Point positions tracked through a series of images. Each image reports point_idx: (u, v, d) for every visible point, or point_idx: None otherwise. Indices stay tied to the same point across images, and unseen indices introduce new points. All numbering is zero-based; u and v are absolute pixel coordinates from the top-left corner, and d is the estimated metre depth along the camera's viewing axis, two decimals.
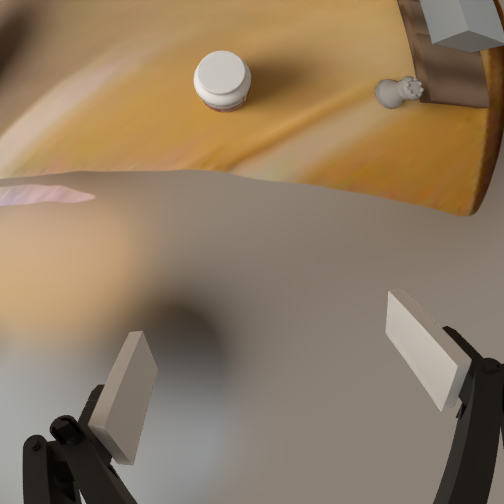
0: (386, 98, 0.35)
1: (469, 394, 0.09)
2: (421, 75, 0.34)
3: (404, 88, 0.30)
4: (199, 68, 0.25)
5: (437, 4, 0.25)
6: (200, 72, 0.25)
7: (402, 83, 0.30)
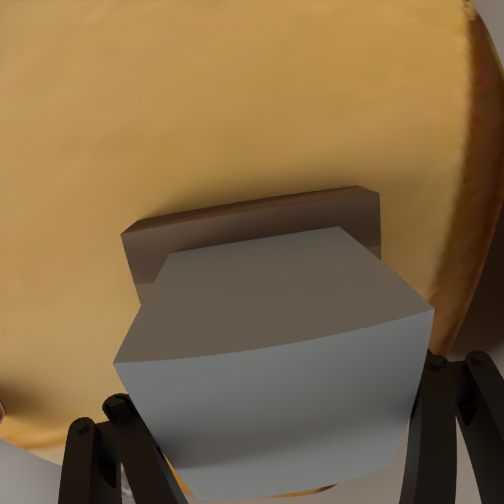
0: None
1: (418, 392, 0.10)
2: None
3: None
4: None
5: None
6: None
7: None
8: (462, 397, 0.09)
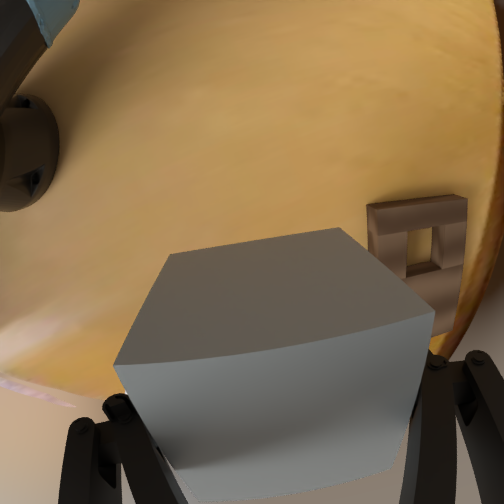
0: None
1: None
2: None
3: None
4: None
5: None
6: None
7: None
8: (462, 397, 0.09)
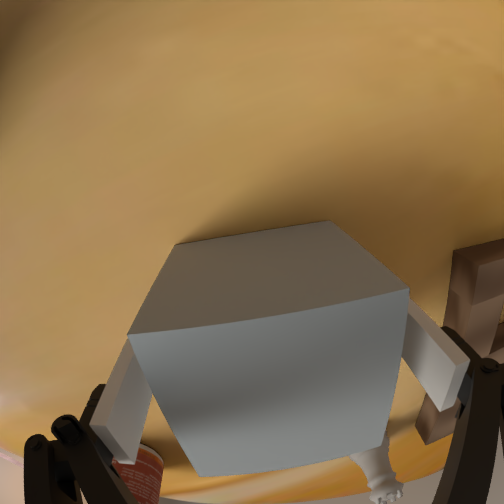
0: (357, 462, 0.23)
1: (468, 394, 0.09)
2: (429, 412, 0.22)
3: (372, 500, 0.18)
4: None
5: None
6: None
7: (372, 496, 0.18)
8: None
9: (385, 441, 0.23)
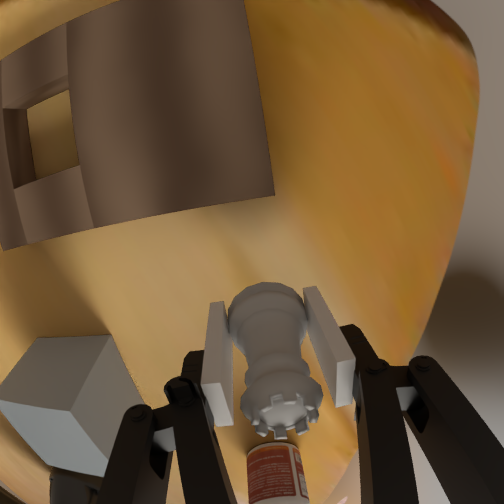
0: None
1: (360, 397, 0.10)
2: None
3: None
4: None
5: None
6: None
7: None
8: (407, 403, 0.10)
9: (240, 315, 0.15)
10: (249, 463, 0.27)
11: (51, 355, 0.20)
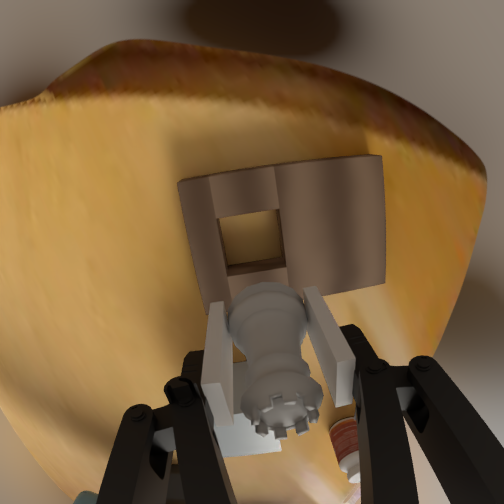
0: None
1: (360, 397, 0.10)
2: None
3: None
4: (357, 482, 0.35)
5: None
6: None
7: None
8: (406, 403, 0.10)
9: (240, 314, 0.15)
10: (334, 433, 0.42)
11: None
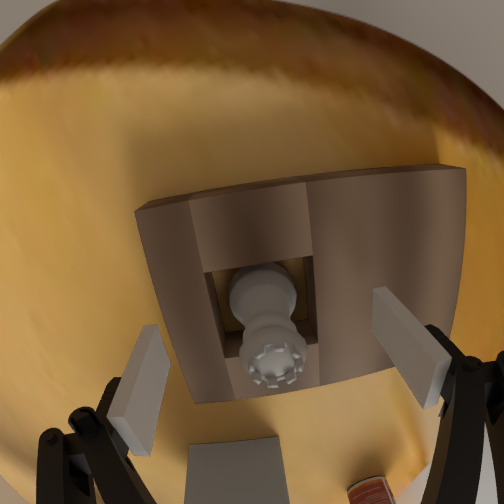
0: None
1: (450, 393, 0.09)
2: None
3: None
4: None
5: None
6: None
7: None
8: (493, 397, 0.08)
9: (238, 288, 0.18)
10: (354, 496, 0.30)
11: (225, 464, 0.23)
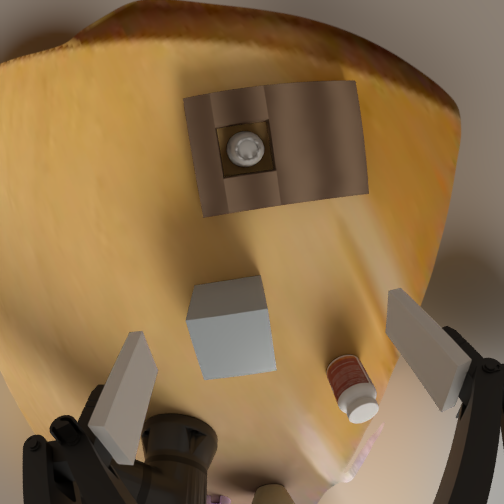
0: None
1: (469, 394, 0.09)
2: None
3: (251, 162, 0.29)
4: (358, 422, 0.38)
5: None
6: (361, 421, 0.38)
7: (244, 164, 0.29)
8: None
9: (232, 139, 0.33)
10: (331, 371, 0.45)
11: (220, 290, 0.38)
